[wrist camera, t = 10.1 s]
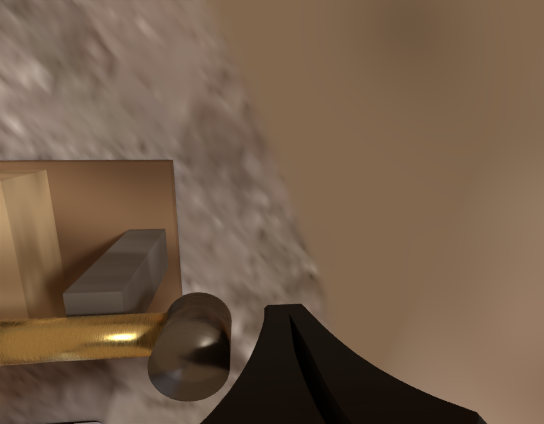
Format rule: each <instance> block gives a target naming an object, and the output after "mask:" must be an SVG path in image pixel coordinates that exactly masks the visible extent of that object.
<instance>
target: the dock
mask: <svg viewBox="0 0 544 424" xmlns="http://www.w3.org/2000/svg"><path fill="white" fill-rule="evenodd" d="M180 297H182V283H181V268H180V254H179V240H178V225H177V211H176V197H175V182H174V168H173V160H12V161H0V320H11V319H33V318H55V317H77V316H99V315H121V314H143V313H165V312H167V311H168V309H169V307H170V306H171V304H172V303H173V302H174V301H176V300H177V299H178V298H180ZM23 364H38V363H23ZM6 365H20V364H6ZM0 366H3V365H0Z"/></svg>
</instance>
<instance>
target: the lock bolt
mask: <svg viewBox="0 0 544 424" xmlns="http://www.w3.org/2000/svg"><path fill="white" fill-rule="evenodd" d="M231 323H232V319H231V314H230V311H229V309H228V307H227V306H226V305H225V303H224V302H223V301H222V300H220V299H219V298H217V297H215V296H213V295H211V294H207V293H199V292H197V293H190V294H186V295H184V296H182V297H180V298H178V299H177V300H176V301H174V302H173V303H172V304H171V306H170V307H169V309H168V311H167V312H165V313H143V314H121V315H99V316H77V317H55V318H33V319H11V320H0V365H6V364H23V363H41V362H58V361H76V360H93V359H111V358H128V357H146V356H150V358H149V361H148V375H149V378H150V380H151V382H152V384H153V385H154V387H155V388H156V389H157V390H158V391H159V392H161V393H162V394H163V395H165V396H167V397H169V398H171V399H174V400H179V401H198V400H202V399H205V398H207V397H209V396H211V395H213V394H215V393H216V392H217V391H218V390H220V389H221V387H222V386H223V385H224V384H225V382H226V380H227V378H228V375H229V371H230V350H231Z"/></svg>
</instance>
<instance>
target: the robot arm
mask: <svg viewBox="0 0 544 424" xmlns="http://www.w3.org/2000/svg"><path fill="white" fill-rule="evenodd" d="M76 424H101V423H99V422H89V423H76ZM200 424H487V423H486V422H485V421H484V420H483V419H482V417H480V416H479V414H478V413H477V412H475V411H472V410H469V409H466V408H464V407H461V406H458V405H455V404H453V403H450V402H447V401H444V400H442V399H439V398H437V397H434V396H432V395H430V394H427V393H425V392H423V391H421V390H419V389H416V388H414V387H412V386H410V385H408V384H406V383H404V382H402V381H400V380H398V379H396V378H395V377H393V376H391V375H389V374H387V373H386V372H384V371H382V370H380V369H379V368H377V367H375V366H374V365H372V364H371V363H369V362H368V361H366V360H365V359H363V358H362V357H360V356H359V355H357V354H356V353H355V352H353V351H352V350H351V349H349V348H348V347H347V346H346V345H344V344H343V343H342V342H341V341H340V340H338V339H337V338H336V337H335V336H334V335H333V334H331V333H330V332H329V331H328V330H327V329H326V328H325V327H324V326H323V325H322V324H321V323H320V322H319V321H318V320H317V319H316V318H315V317H314V316H313V315H312V314H311V313H310V312H309V311H308V310H307V309H306V308H305V307H304V306H303V305H302V304H284V305H267V306H266V307H265V308H264V322H263V326H262V329H261V332H260V335H259V338H258V341H257V343H256V346H255V348H254V350H253V352H252V355H251V357H250V359H249V361H248V362H247V364H246V366H245V368H244V369H243V371H242V373H241V374H240V376H239V377H238V379H237V380H236V382H235V383H234V385H233V386H232V388H231V389H230V391H229V392H228V393H227V394H226V396H225V397H224V398H223V399H222V400H221V402H220V403H219V404H218V405H217V406H216V407H215V409H214V410H213V411H212V412H211V413H210V414H209V415H208V416H207V418H205V419H204V420H203V421H202V422H201V423H200Z"/></svg>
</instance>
